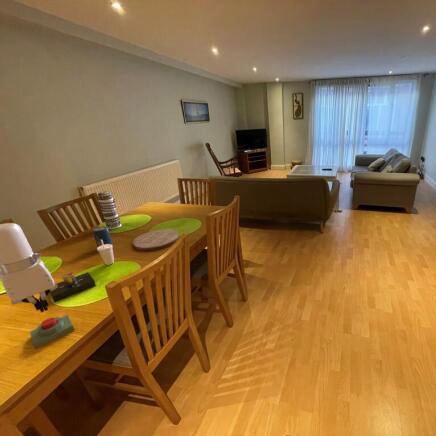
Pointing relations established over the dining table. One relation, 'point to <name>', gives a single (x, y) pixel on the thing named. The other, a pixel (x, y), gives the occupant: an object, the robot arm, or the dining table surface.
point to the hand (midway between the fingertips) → (44, 309)
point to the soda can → (102, 236)
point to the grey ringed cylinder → (109, 210)
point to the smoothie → (106, 253)
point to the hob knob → (69, 279)
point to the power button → (48, 323)
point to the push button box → (51, 332)
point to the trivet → (156, 239)
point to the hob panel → (73, 287)
